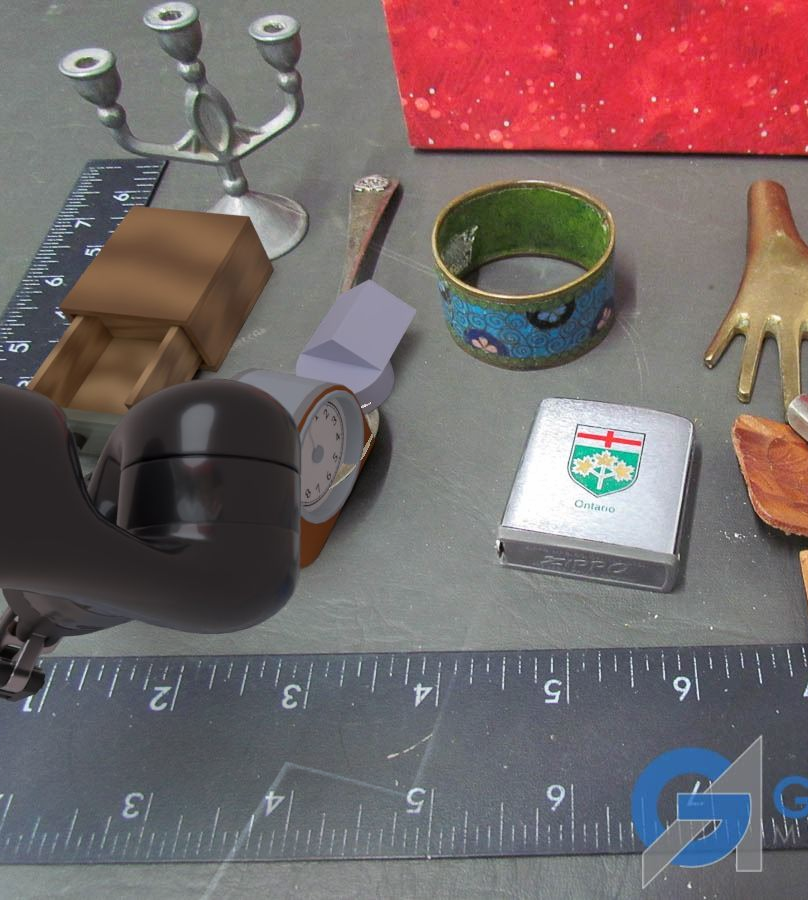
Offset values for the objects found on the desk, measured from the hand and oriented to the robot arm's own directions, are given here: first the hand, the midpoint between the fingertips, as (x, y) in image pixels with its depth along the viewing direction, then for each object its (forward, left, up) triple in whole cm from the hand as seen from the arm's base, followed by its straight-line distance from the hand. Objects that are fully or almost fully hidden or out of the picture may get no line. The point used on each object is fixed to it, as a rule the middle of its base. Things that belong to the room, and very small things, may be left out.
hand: (28, 595), depth 57 cm
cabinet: (+15, +38, -14) cm, 43 cm away
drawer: (+7, +28, -13) cm, 31 cm away
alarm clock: (+18, +8, -14) cm, 24 cm away
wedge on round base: (+28, +20, -14) cm, 37 cm away
